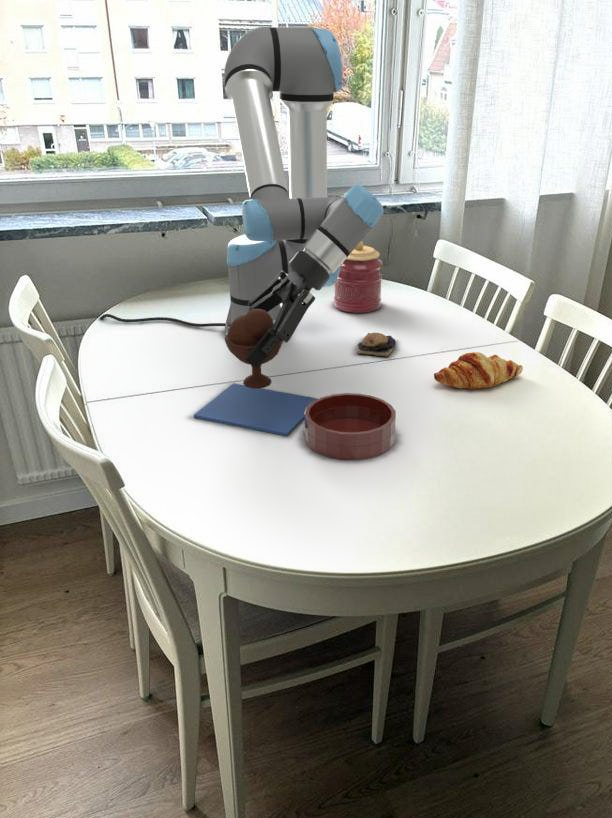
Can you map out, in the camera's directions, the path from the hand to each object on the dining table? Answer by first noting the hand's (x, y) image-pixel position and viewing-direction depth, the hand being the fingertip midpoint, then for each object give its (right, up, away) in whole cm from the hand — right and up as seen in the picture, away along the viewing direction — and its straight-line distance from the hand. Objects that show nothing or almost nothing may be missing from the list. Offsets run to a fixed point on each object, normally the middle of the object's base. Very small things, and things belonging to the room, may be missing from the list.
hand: (241, 352), depth 137 cm
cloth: (+2, -10, +8) cm, 13 cm away
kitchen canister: (+22, +24, +62) cm, 70 cm away
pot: (+21, -16, -2) cm, 26 cm away
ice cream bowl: (+2, -5, +5) cm, 7 cm away
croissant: (+48, -3, +21) cm, 53 cm away
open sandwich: (+26, +7, +37) cm, 46 cm away
